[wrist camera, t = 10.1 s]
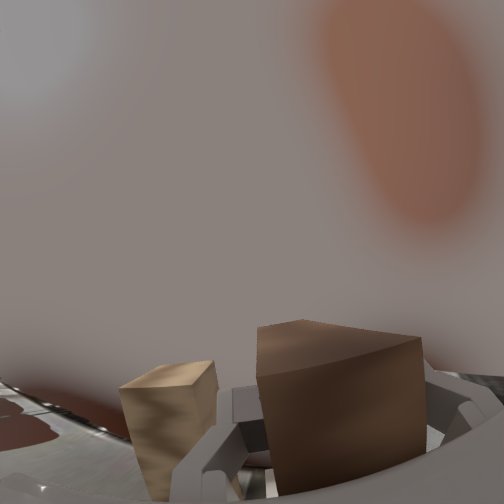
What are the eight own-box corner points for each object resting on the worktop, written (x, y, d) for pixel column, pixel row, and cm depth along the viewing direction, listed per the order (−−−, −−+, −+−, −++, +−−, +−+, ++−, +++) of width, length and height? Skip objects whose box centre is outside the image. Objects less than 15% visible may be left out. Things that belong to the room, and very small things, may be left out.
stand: (185, 571, 18) (118, 388, 23) (201, 518, 31) (161, 365, 36) (244, 572, 18) (192, 384, 23) (247, 516, 31) (213, 360, 36)
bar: (282, 517, 5) (256, 376, 6) (265, 373, 25) (257, 327, 26) (424, 475, 5) (420, 337, 6) (310, 365, 25) (302, 319, 26)
